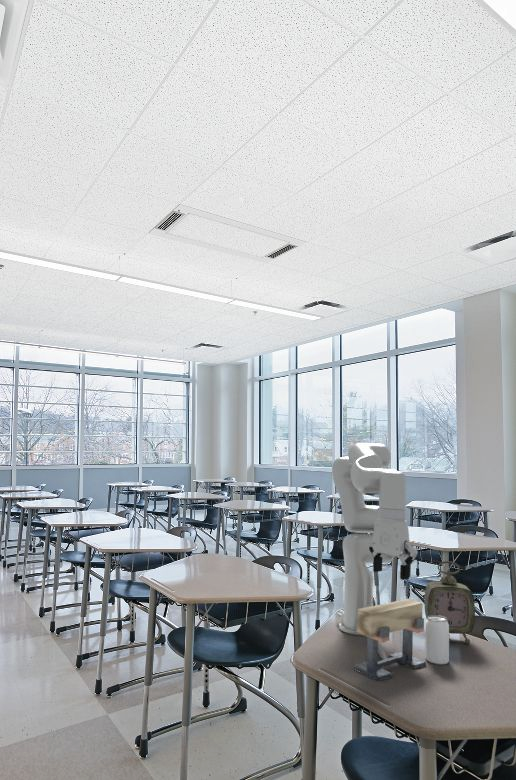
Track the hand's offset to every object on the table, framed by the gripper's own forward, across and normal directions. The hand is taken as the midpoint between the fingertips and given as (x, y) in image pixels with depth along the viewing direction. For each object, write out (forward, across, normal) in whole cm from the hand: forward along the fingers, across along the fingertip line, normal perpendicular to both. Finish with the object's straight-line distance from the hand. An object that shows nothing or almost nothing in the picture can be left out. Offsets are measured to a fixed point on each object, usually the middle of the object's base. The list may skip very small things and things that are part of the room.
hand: (390, 575), depth 153 cm
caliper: (+26, -9, +6) cm, 28 cm away
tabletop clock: (+26, -4, +34) cm, 43 cm away
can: (+25, +5, +16) cm, 30 cm away
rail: (+14, +1, 0) cm, 14 cm away
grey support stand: (+25, +1, 0) cm, 25 cm away
